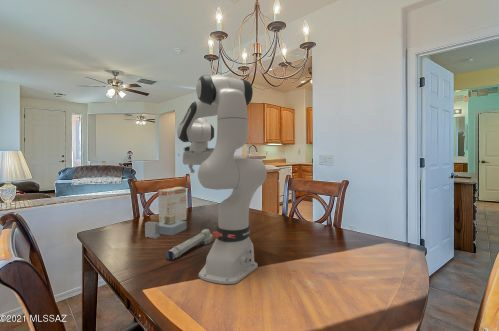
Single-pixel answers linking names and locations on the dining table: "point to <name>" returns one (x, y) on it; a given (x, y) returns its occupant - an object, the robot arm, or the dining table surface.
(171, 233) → the bore block
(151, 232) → the pale grey block
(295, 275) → the dining table surface
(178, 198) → the coffeecake box
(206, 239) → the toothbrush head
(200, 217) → the dining table surface
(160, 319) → the dining table surface
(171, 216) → the block
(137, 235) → the dining table surface
